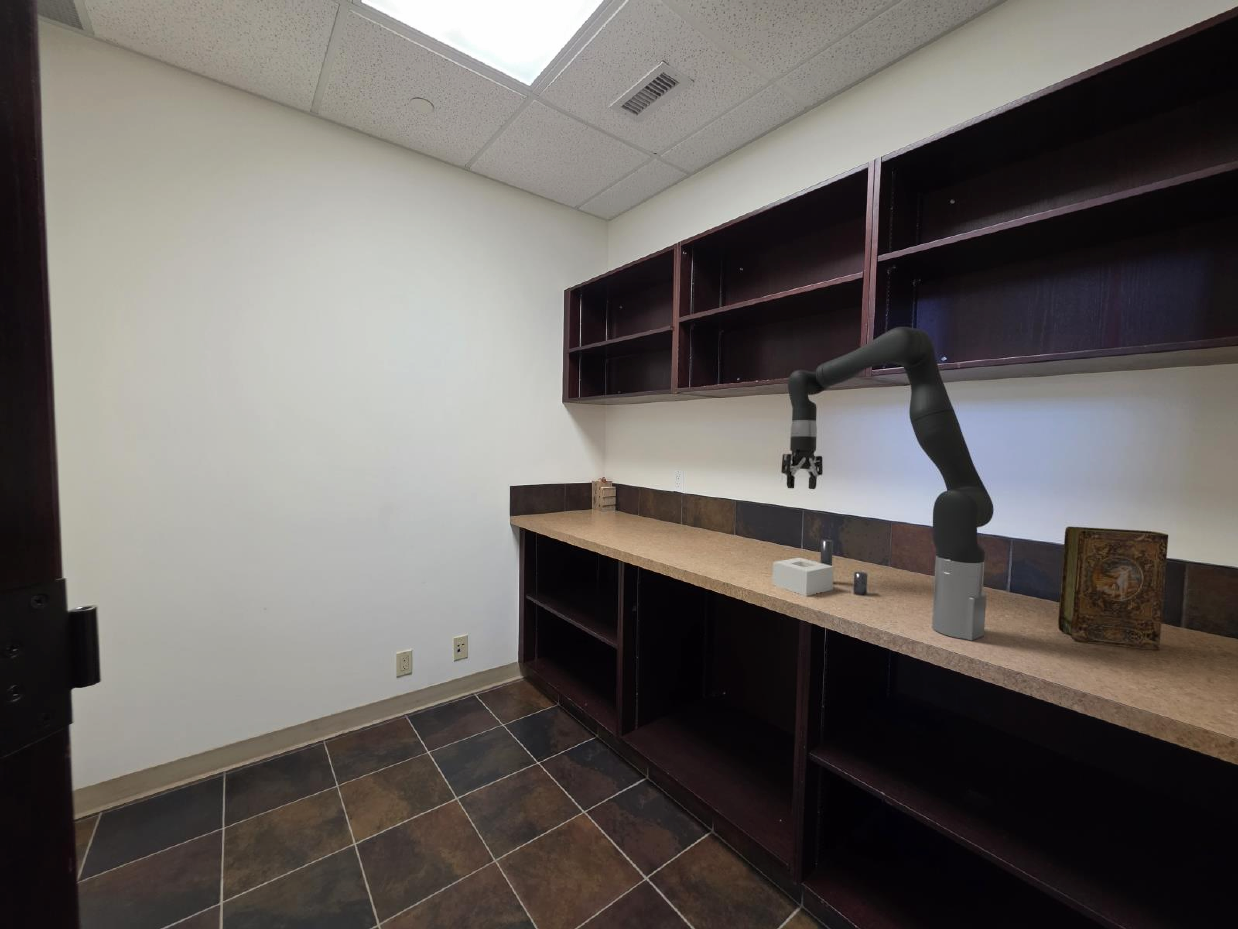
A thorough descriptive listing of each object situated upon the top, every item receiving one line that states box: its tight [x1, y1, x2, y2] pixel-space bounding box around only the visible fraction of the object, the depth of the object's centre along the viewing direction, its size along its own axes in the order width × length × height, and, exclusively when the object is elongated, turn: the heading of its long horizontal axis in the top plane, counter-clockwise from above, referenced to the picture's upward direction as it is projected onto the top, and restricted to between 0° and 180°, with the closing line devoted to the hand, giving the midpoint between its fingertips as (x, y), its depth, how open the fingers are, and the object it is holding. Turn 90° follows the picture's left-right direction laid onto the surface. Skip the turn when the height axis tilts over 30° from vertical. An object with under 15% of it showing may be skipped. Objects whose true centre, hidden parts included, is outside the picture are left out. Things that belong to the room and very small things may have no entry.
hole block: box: [771, 557, 835, 597], centre depth 147 cm, size 12×12×7 cm
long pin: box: [819, 539, 834, 566], centre depth 152 cm, size 3×3×13 cm
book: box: [1057, 526, 1169, 651], centre depth 110 cm, size 16×6×25 cm, turn 73°
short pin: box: [852, 571, 869, 597], centre depth 142 cm, size 3×3×6 cm
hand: (801, 488), depth 152 cm, fingers open, 8 cm apart
